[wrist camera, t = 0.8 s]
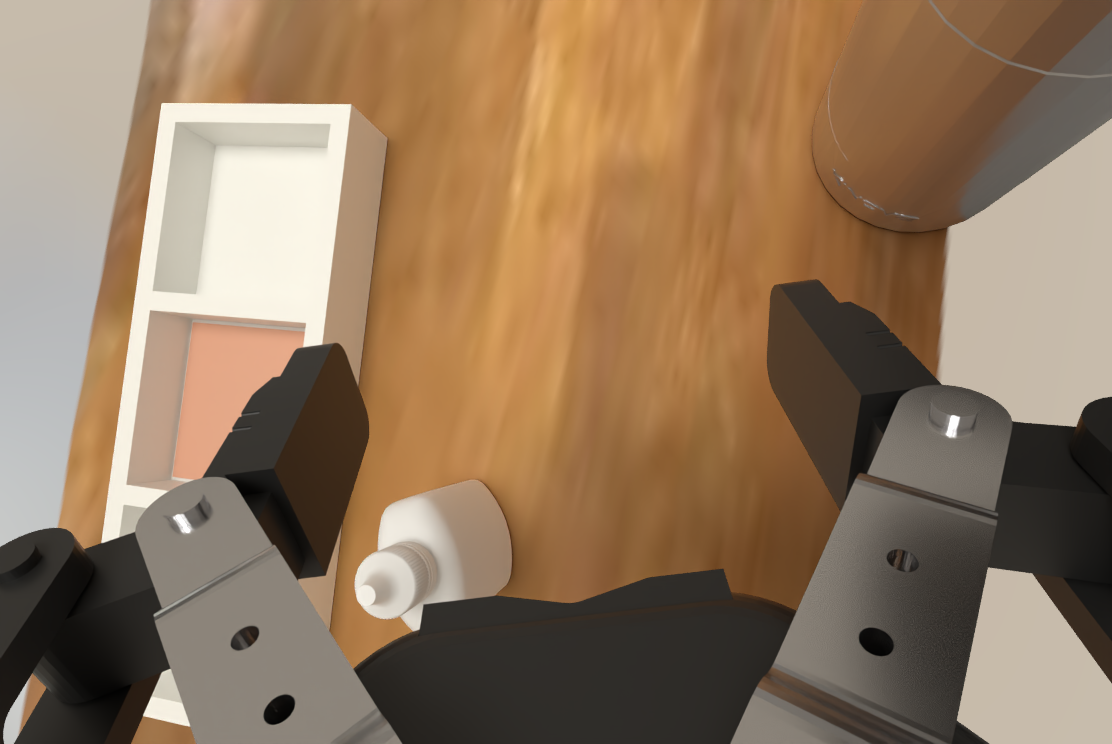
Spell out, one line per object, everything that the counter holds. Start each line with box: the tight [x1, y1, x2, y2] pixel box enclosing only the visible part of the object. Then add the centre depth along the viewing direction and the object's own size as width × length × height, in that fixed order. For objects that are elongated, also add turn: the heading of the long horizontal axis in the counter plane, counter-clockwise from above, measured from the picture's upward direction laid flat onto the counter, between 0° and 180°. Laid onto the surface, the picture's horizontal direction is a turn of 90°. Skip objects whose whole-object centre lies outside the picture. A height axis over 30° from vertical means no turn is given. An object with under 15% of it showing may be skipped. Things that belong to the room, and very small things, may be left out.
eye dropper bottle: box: [355, 480, 512, 631], centre depth 28 cm, size 4×6×12 cm
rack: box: [102, 103, 388, 727], centre depth 35 cm, size 31×11×4 cm, turn 174°
